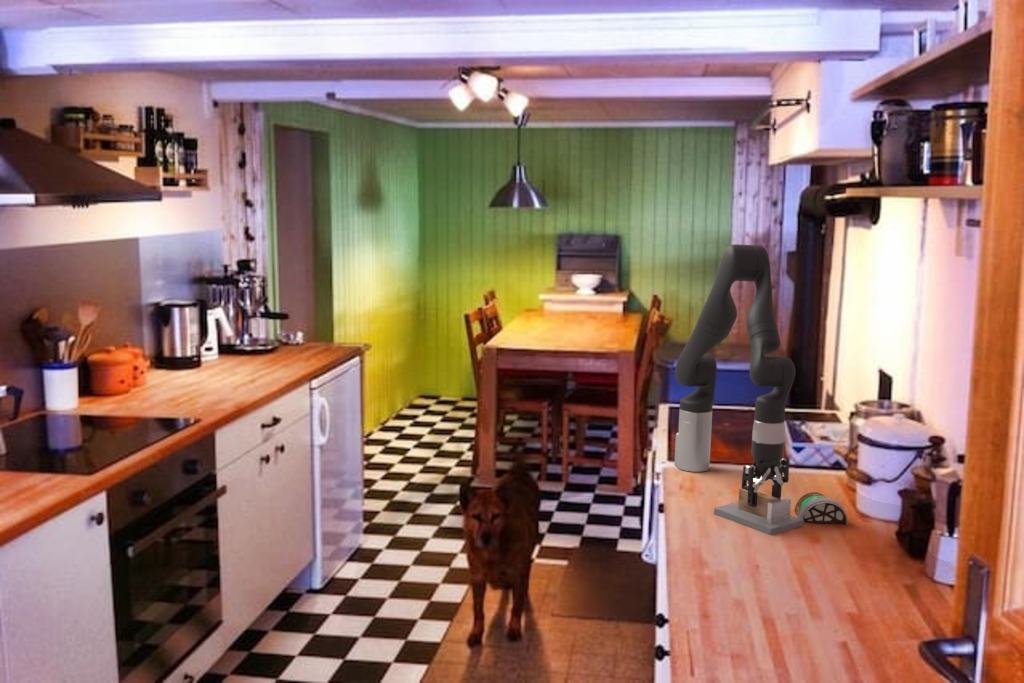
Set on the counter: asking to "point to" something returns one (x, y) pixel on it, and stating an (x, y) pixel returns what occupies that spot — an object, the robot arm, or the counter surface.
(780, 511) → the brown and grey block
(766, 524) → the grey cutting board
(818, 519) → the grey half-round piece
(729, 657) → the counter surface
